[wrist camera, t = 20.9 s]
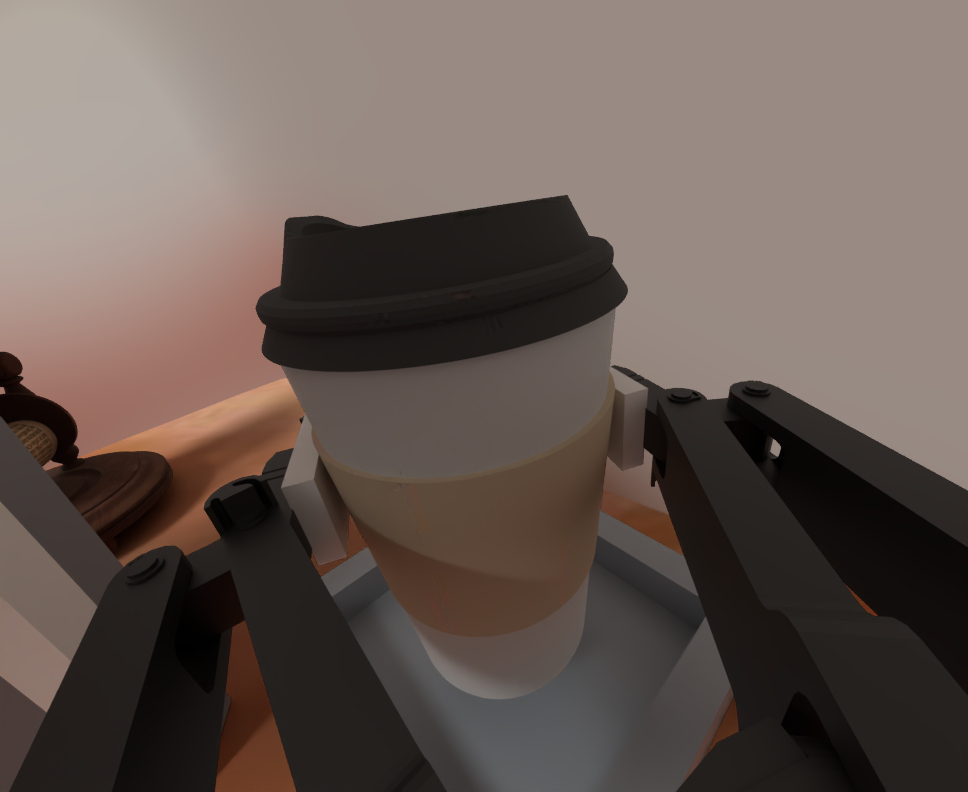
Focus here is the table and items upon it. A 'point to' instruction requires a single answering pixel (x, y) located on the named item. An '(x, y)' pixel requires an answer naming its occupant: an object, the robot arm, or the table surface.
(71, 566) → the cubby
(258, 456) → the table surface
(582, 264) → the coffee cup
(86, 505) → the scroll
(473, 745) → the tray
